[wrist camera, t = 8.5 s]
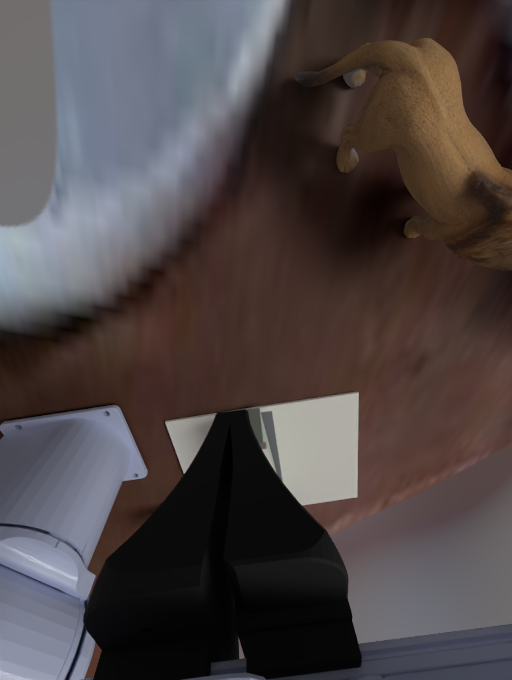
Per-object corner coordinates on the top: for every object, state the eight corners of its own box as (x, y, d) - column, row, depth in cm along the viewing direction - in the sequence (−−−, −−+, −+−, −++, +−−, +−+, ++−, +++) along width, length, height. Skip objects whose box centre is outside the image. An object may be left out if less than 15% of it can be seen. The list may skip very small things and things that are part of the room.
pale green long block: (285, 499, 29) (293, 546, 25) (269, 502, 29) (274, 550, 25) (261, 407, 24) (266, 448, 20) (242, 411, 24) (243, 453, 20)
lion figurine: (508, 197, 18) (721, 197, 10) (445, 271, 20) (583, 319, 12) (322, 24, 14) (431, -199, 6) (264, 135, 16) (291, 73, 8)
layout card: (200, 518, 30) (200, 520, 30) (165, 420, 24) (164, 422, 24) (356, 495, 30) (357, 497, 30) (357, 391, 24) (358, 392, 24)
